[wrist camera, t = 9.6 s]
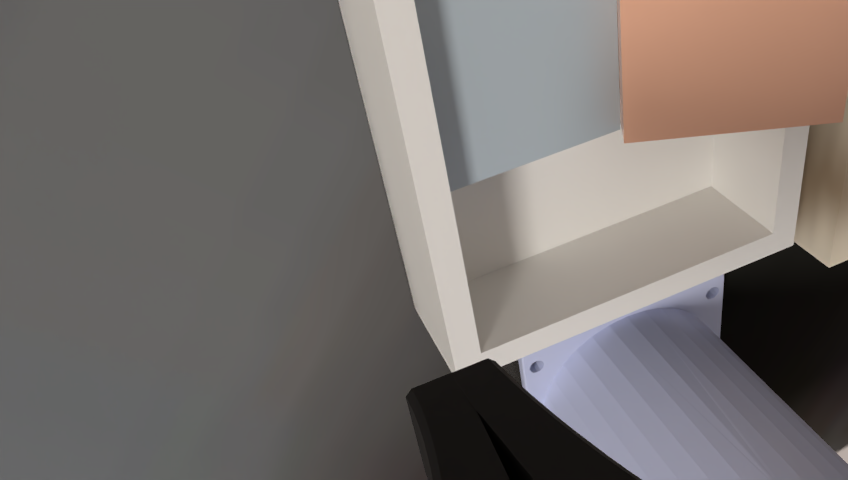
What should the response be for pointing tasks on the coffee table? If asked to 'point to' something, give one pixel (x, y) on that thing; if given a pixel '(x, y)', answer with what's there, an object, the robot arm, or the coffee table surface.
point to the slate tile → (518, 79)
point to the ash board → (825, 193)
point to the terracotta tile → (729, 66)
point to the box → (558, 211)
